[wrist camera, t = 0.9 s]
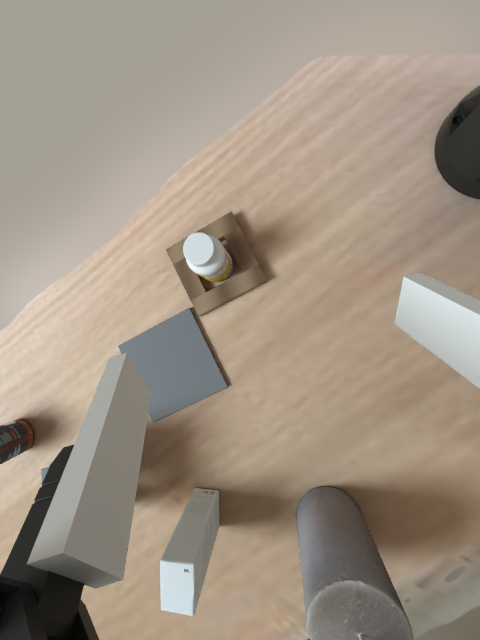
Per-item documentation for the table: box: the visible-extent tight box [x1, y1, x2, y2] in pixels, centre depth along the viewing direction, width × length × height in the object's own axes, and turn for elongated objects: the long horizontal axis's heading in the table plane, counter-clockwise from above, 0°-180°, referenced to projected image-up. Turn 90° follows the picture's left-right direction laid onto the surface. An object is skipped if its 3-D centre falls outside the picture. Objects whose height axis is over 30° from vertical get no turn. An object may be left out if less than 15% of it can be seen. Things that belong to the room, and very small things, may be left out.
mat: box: [118, 308, 228, 422], centre depth 40 cm, size 14×14×1 cm
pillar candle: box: [296, 486, 413, 640], centre depth 29 cm, size 10×10×15 cm
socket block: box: [166, 212, 267, 316], centre depth 38 cm, size 12×12×1 cm
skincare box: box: [160, 488, 219, 616], centre depth 33 cm, size 6×4×12 cm
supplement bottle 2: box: [183, 232, 233, 282], centre depth 34 cm, size 5×5×10 cm
